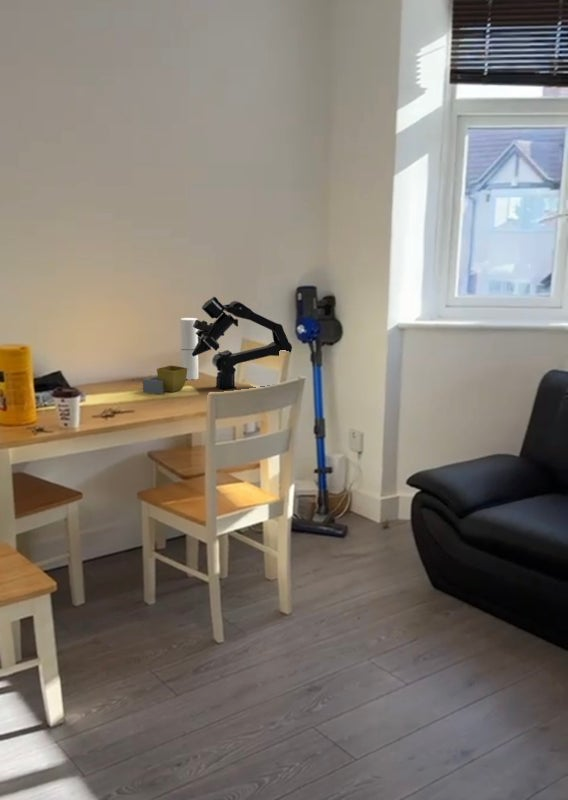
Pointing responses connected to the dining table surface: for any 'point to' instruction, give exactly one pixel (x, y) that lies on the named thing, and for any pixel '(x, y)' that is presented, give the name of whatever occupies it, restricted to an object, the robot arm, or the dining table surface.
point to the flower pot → (172, 377)
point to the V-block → (153, 385)
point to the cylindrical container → (189, 347)
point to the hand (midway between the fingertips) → (192, 355)
